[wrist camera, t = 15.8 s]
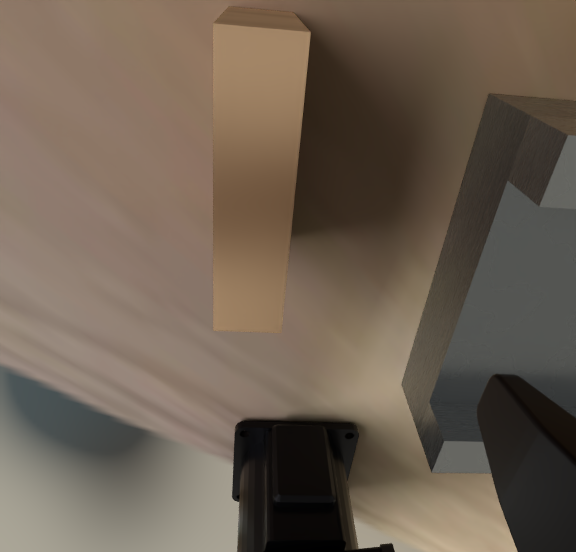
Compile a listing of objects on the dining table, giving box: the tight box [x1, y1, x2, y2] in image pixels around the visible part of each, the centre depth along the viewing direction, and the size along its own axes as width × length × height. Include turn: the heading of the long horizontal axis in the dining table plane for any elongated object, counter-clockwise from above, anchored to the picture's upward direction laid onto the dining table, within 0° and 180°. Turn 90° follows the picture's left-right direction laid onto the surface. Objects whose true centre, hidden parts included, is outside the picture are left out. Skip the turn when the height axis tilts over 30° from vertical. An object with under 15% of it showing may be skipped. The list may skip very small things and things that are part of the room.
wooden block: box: [213, 6, 311, 333], centre depth 14 cm, size 8×2×6 cm, turn 175°
